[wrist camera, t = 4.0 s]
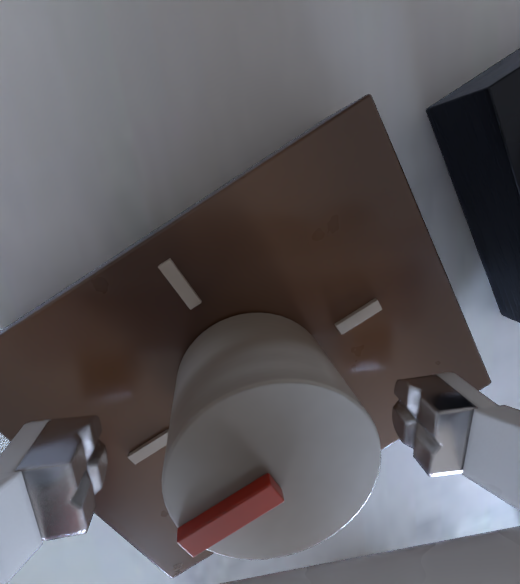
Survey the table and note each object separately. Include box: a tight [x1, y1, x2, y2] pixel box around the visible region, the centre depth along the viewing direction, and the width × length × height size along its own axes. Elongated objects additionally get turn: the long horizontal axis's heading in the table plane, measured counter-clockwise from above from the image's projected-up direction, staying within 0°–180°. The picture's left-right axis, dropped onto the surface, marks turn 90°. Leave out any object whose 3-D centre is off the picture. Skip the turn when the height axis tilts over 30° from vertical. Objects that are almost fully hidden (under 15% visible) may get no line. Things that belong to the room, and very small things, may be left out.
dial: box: [161, 313, 381, 560], centre depth 8 cm, size 4×4×4 cm
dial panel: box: [0, 94, 491, 578], centre depth 11 cm, size 13×10×3 cm
